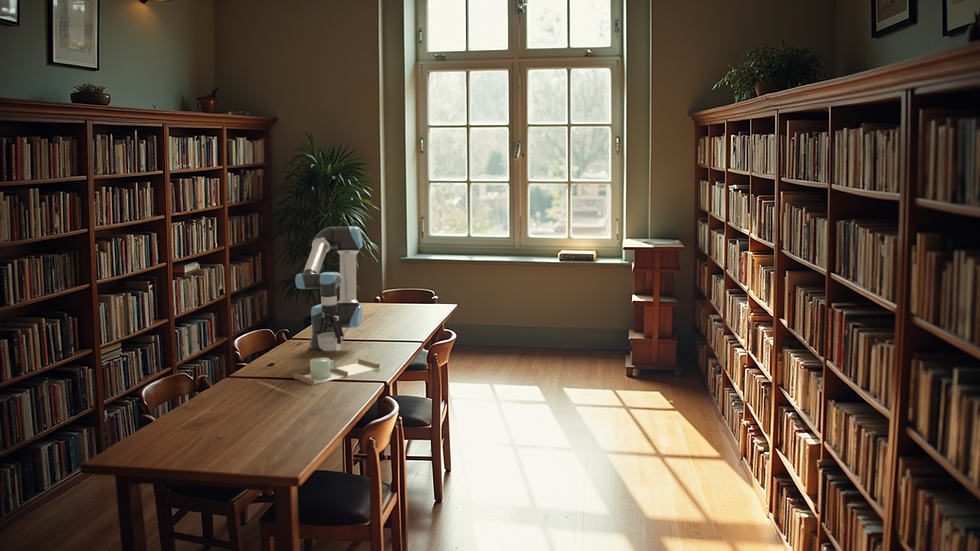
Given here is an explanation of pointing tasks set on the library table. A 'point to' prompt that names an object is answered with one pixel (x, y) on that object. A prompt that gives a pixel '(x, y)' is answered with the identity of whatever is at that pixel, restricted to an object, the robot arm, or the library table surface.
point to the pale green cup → (321, 368)
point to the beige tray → (342, 371)
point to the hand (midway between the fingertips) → (331, 347)
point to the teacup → (327, 341)
